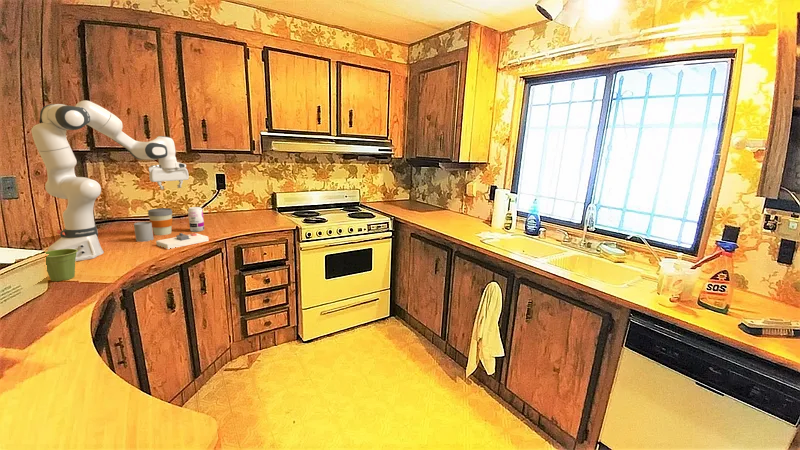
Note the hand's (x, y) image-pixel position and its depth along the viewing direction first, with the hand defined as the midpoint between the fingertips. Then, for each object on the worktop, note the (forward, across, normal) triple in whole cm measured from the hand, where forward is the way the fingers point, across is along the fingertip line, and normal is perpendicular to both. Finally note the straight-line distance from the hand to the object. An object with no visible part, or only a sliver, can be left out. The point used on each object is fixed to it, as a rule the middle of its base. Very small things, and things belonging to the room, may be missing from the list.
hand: (171, 188), depth 210 cm
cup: (+29, -15, +5) cm, 33 cm away
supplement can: (+29, +15, +5) cm, 33 cm away
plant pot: (+29, -61, -36) cm, 77 cm away
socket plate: (+29, -5, -18) cm, 35 cm away
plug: (+29, -5, -18) cm, 35 cm away
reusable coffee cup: (+29, -2, +13) cm, 32 cm away
